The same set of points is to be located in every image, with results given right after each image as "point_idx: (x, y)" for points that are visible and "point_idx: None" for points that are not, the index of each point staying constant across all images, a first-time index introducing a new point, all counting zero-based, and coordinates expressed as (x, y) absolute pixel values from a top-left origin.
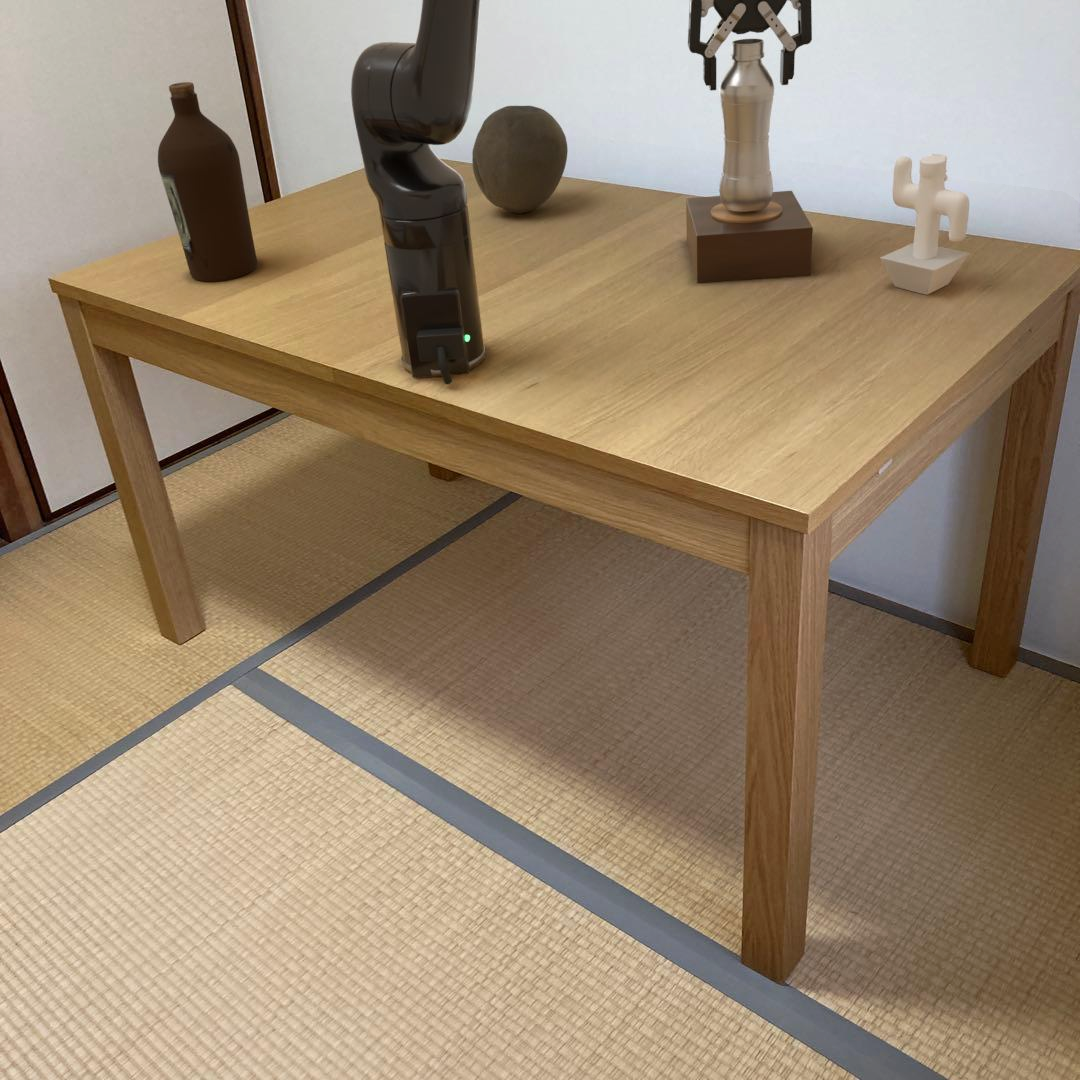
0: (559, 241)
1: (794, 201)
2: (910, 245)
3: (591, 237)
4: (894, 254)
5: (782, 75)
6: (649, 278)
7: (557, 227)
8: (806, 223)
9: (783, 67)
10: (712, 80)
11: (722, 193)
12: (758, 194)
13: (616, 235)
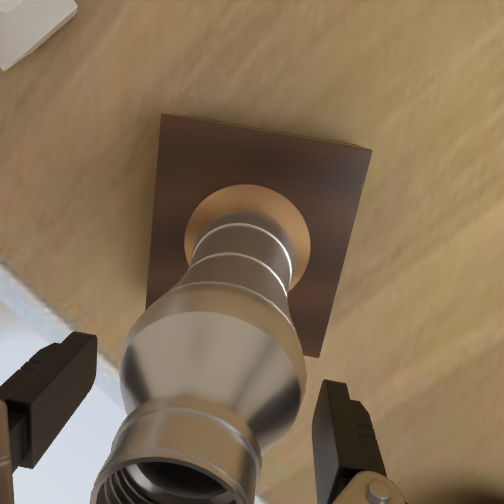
0: (484, 394)
1: (154, 269)
2: (16, 54)
3: (435, 392)
4: (50, 14)
5: (81, 356)
6: (417, 194)
7: (465, 447)
8: (165, 141)
9: (63, 364)
10: (343, 399)
11: (294, 250)
12: (233, 211)
13: (398, 386)
